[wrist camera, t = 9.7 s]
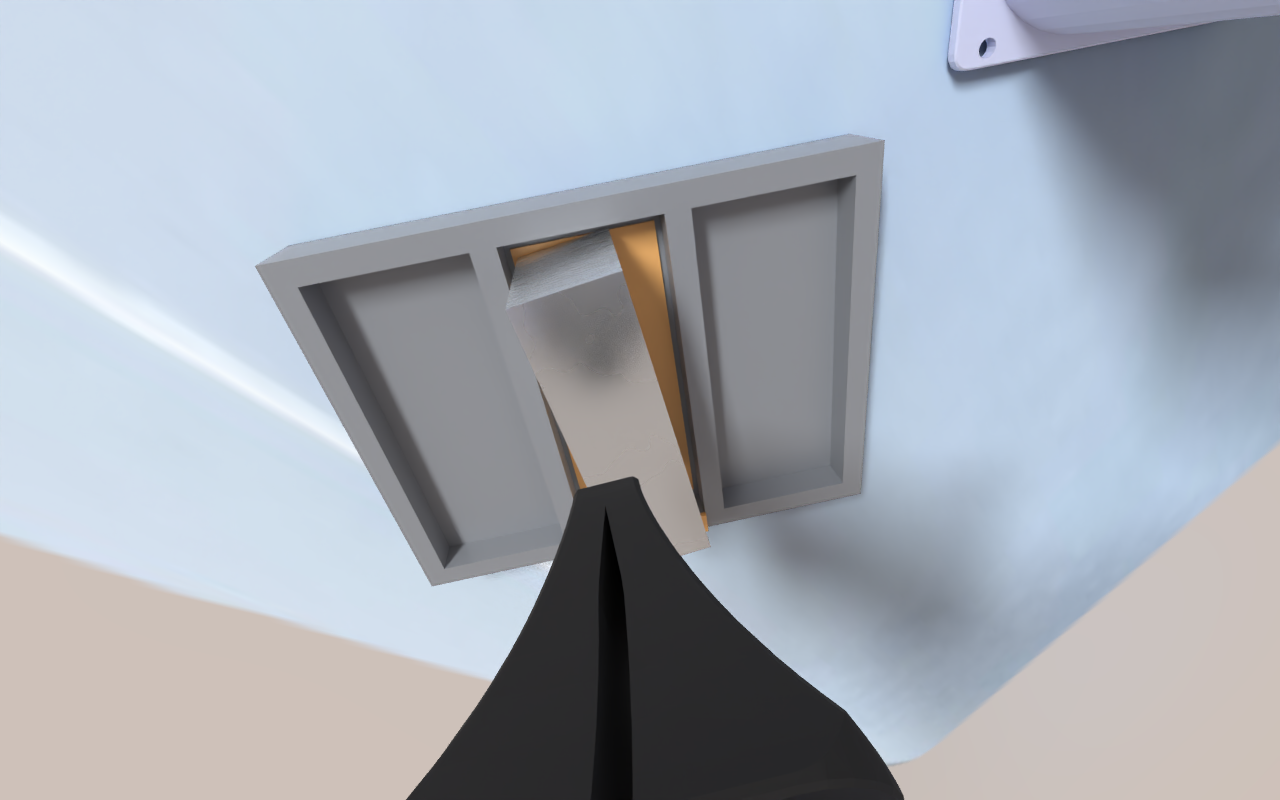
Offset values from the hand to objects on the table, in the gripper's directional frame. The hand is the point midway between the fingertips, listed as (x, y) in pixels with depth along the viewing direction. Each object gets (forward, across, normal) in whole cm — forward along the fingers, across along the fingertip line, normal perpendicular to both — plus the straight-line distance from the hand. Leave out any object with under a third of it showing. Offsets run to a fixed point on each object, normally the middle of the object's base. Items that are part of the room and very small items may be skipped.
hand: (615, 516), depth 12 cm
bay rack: (+9, 0, +2) cm, 10 cm away
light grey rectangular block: (+8, 0, +1) cm, 8 cm away
